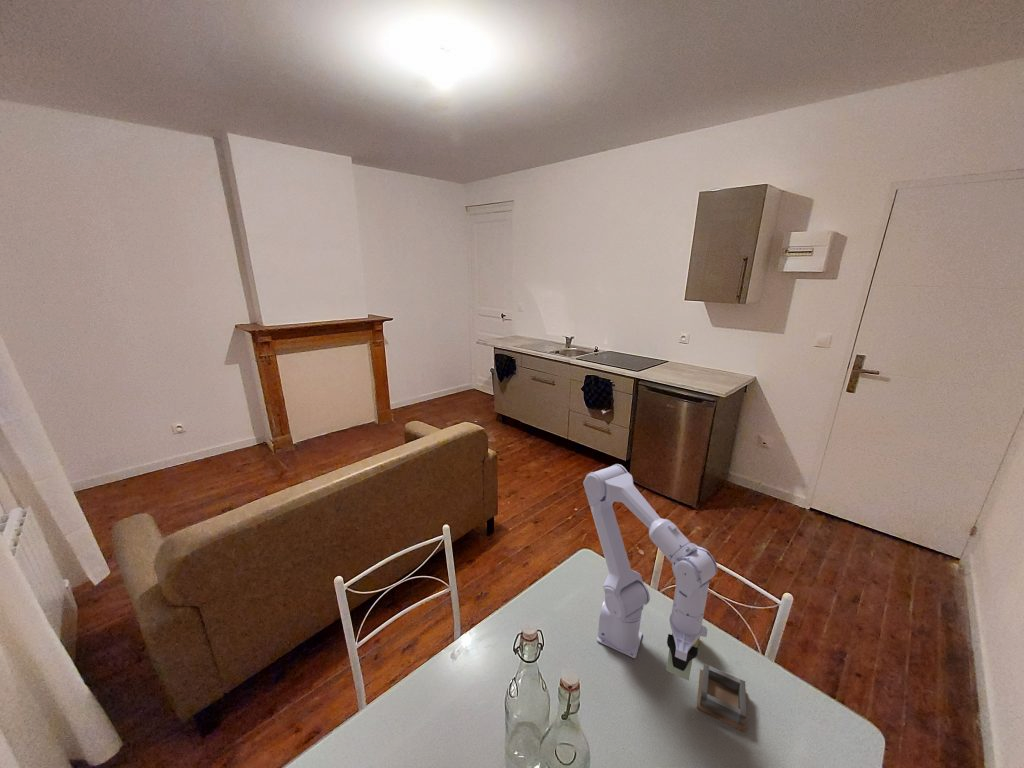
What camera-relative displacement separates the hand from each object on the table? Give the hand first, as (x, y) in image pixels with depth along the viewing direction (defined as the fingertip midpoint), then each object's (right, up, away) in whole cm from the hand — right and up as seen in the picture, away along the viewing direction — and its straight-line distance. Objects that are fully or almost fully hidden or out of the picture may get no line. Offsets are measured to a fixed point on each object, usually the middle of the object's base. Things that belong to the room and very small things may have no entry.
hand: (680, 657), depth 81 cm
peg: (0, -2, +1) cm, 2 cm away
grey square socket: (+9, -10, +1) cm, 13 cm away
